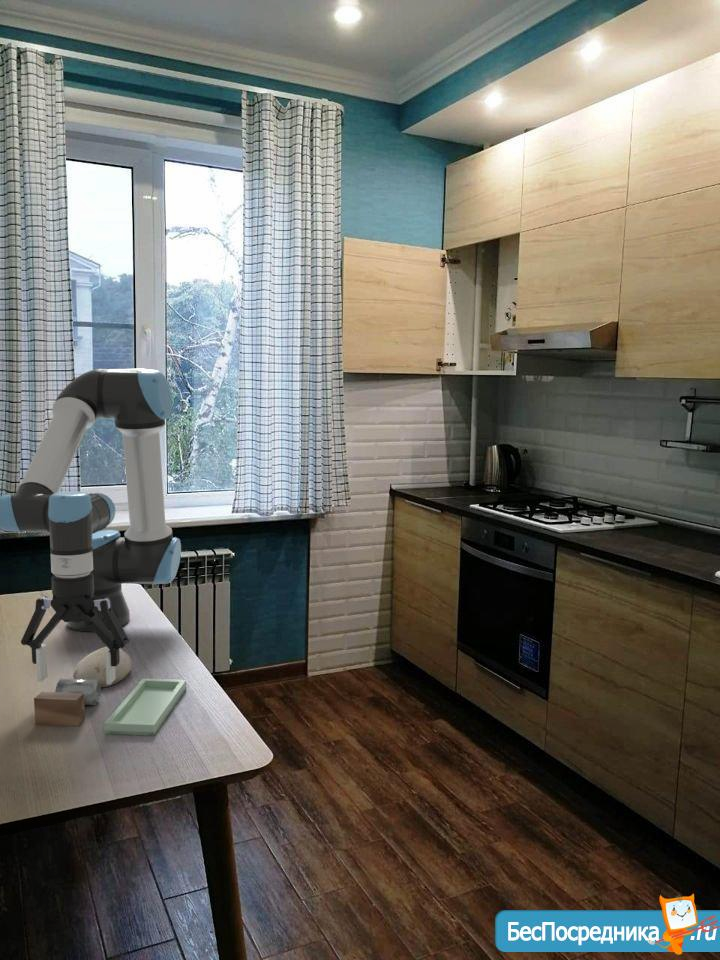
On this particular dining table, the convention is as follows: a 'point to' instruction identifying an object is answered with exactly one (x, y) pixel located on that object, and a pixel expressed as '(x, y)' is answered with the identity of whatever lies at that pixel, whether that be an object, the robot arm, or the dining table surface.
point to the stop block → (59, 708)
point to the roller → (81, 688)
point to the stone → (102, 667)
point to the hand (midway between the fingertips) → (76, 680)
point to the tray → (145, 707)
